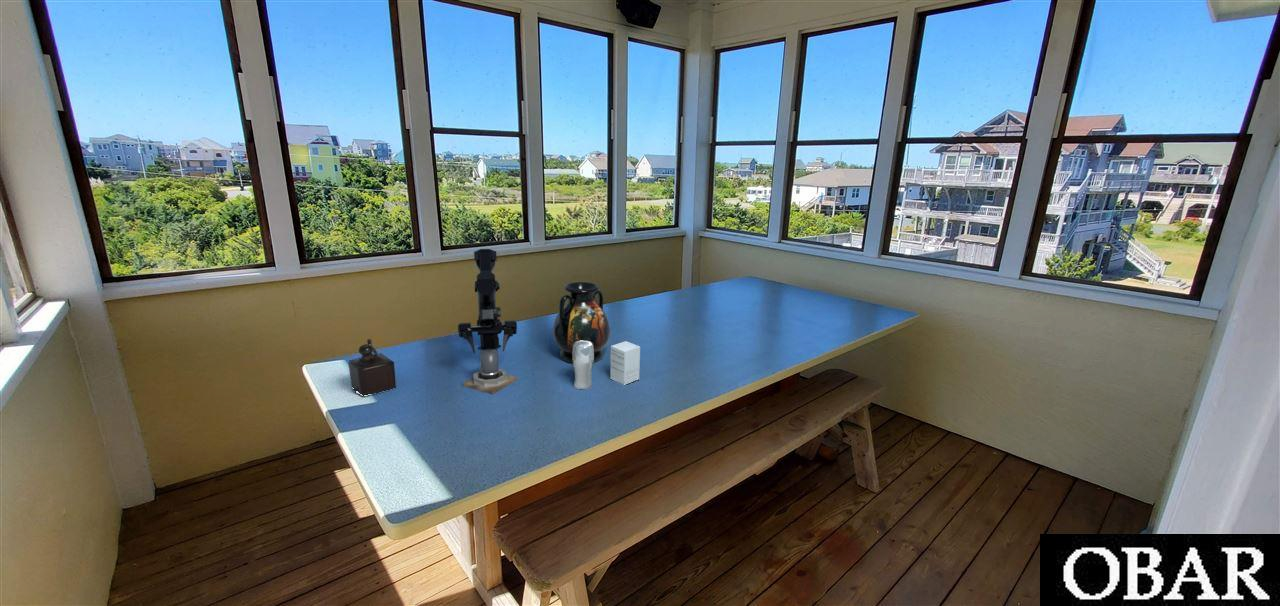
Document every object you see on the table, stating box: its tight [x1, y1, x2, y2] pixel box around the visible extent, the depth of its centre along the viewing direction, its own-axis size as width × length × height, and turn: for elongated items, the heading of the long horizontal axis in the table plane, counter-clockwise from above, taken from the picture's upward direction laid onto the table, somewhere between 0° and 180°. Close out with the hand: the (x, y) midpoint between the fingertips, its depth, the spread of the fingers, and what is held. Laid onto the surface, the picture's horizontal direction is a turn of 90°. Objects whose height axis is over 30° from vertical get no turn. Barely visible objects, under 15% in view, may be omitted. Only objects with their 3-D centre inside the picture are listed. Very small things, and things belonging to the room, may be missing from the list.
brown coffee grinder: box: [347, 338, 397, 396], centre depth 160 cm, size 16×11×18 cm
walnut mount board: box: [462, 368, 518, 395], centre depth 170 cm, size 12×12×3 cm
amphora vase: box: [552, 281, 611, 364], centre depth 192 cm, size 22×22×28 cm
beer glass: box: [572, 340, 594, 390], centre depth 169 cm, size 7×7×15 cm
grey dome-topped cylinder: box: [479, 349, 500, 380], centre depth 169 cm, size 6×6×10 cm
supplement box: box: [609, 340, 641, 386], centre depth 175 cm, size 7×7×13 cm
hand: (488, 351), depth 168 cm, fingers open, 9 cm apart
